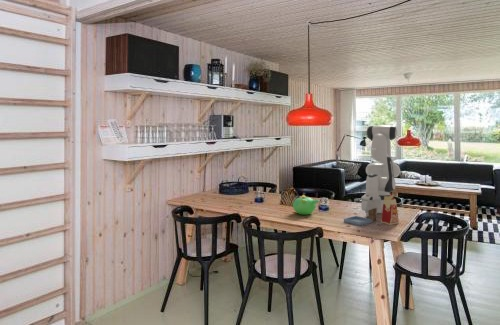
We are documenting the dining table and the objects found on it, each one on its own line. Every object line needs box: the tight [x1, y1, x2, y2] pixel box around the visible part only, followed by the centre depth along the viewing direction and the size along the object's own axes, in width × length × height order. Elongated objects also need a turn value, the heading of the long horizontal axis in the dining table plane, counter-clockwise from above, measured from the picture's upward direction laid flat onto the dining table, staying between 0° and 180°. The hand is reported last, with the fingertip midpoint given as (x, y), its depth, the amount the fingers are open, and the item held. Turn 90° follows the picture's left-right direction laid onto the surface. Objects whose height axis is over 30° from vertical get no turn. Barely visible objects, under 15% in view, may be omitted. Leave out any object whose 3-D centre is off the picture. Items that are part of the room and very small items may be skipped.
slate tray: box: [343, 215, 373, 227], centre depth 258 cm, size 14×14×2 cm
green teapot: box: [292, 194, 320, 215], centre depth 283 cm, size 18×17×15 cm
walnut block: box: [365, 208, 377, 222], centre depth 264 cm, size 5×5×9 cm
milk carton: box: [381, 194, 400, 226], centre depth 256 cm, size 9×9×20 cm
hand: (371, 215), depth 264 cm, fingers open, 8 cm apart
